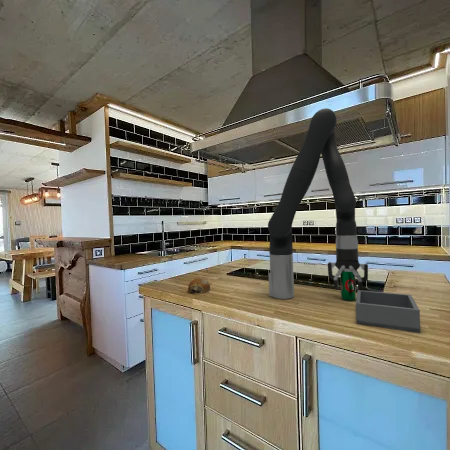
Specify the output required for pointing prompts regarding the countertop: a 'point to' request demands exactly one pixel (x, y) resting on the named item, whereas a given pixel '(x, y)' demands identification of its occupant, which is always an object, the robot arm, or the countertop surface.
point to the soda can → (348, 285)
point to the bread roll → (199, 285)
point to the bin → (387, 310)
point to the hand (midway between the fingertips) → (348, 290)
